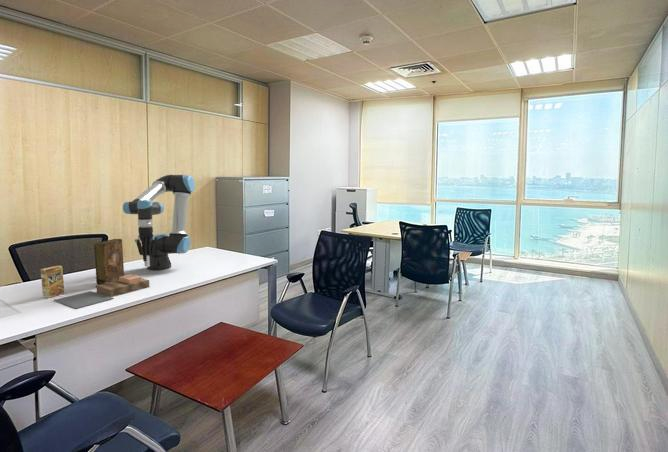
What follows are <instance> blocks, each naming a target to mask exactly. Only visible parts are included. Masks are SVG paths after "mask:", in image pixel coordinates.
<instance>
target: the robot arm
mask: <svg viewBox="0 0 668 452" xmlns="http://www.w3.org/2000/svg"><path fill="white" fill-rule="evenodd" d="M153 181H154V180H153ZM195 188H196V184H195V180H194V178H193V177H192V176H191V175H187V174H165V175H164V176H160V177H159V178H157V179H155V181H154V182H152V183H151V186H149V187H148V188H146V189H145V190H144V191H143V192H141V194H140V195H138V196H137V197H136V198H135V199H133V200H132V201H125V202H124V203H123V205H122V210H123V213H124V214H127V215H137V225H138V227H137V228H138V237H137V238H136V239H134V242H135V243H136V246H137V249H138V253H139V255H140V256H142V260H143V262H144V267H146V269H147V270H149V271H161V270H168V269H171V268H172V262H171V260H170V257H169V254H178V255H181V254H182V255H183V254H186V253H188V251H189V250H190V246H191V244H192V243H191V238H190V237H189V236H188V235H189V234H188V233H187V232H186V231H187V230H186V229H187V217H188V202H189V197H190V196H191V195H192V193H194V191H195ZM168 192H172V195H173V196H174V204H173V212H172V213H173V214H172V215H173V216H172V227H171V232H169V233H168V234H169V235H168V234H167V233H158V234H153V231H154V227H153V216H156V215H159V214H162V213H163V212H164V210H165V207H164V205H163V204H162V202H160V201H155V199H156V198H157V197H159V196H160V195H162V194H165V193H168Z"/></svg>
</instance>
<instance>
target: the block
mask: <svg viewBox="0 0 668 452" xmlns="http://www.w3.org/2000/svg"><path fill="white" fill-rule="evenodd" d="M141 278H142V276H140V275H135V274H131V273H130V274H126V275H125V274H124V276H121V277H119V281H120V282H124V283H128V284H132V283H136V282H140V281H141Z"/></svg>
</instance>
